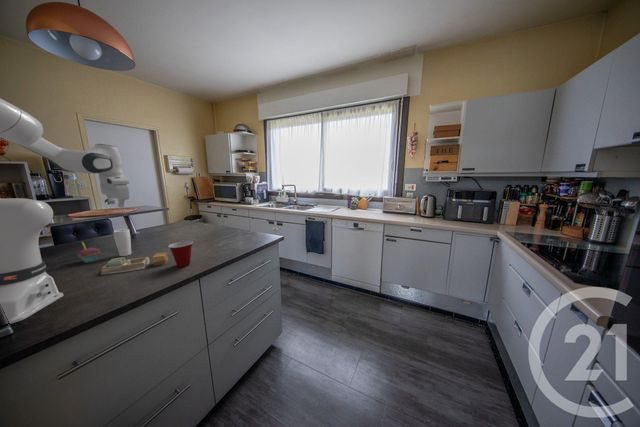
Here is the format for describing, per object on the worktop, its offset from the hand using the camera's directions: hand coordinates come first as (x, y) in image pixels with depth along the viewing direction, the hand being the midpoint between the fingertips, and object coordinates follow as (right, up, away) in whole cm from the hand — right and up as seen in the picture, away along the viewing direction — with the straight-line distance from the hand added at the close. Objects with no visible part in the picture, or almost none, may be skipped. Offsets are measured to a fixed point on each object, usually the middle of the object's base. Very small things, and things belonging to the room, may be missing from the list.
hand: (116, 205), depth 107 cm
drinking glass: (-10, -29, +16) cm, 34 cm away
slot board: (+6, -32, -1) cm, 33 cm away
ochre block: (+19, -31, +5) cm, 37 cm away
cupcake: (-22, -30, +7) cm, 38 cm away
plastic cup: (+32, -32, +3) cm, 45 cm away
